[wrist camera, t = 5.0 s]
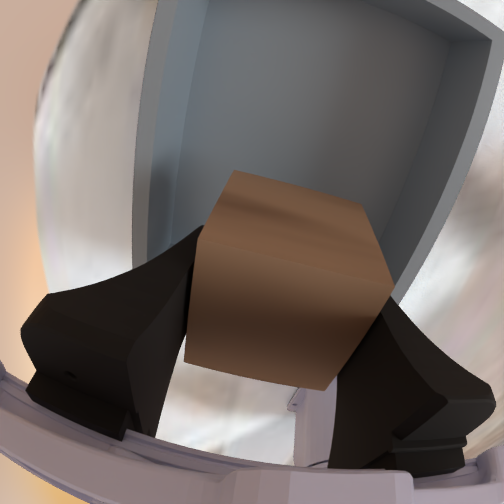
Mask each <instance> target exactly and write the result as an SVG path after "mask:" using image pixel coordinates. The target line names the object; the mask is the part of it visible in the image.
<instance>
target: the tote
mask: <svg viewBox="0 0 504 504" xmlns="http://www.w3.org/2000/svg"><path fill="white" fill-rule="evenodd" d="M503 61H504V31H502V30H501V29H500V28H498V27H497V26H495V25H494V24H493V23H491V22H490V21H488V20H487V19H486V18H484V17H483V16H481V15H480V14H478V13H477V12H475V11H474V10H472V9H470V8H469V7H467V6H466V5H464V4H462V3H461V2H459V1H457V0H159V1H158V5H157V9H156V13H155V18H154V23H153V27H152V32H151V37H150V43H149V48H148V54H147V59H146V65H145V72H144V78H143V85H142V92H141V100H140V108H139V117H138V127H137V137H136V149H135V163H134V181H133V207H132V267H133V269H134V268H137V267H139V266H141V265H143V264H145V263H146V262H148V261H150V260H152V259H153V258H155V257H157V256H158V255H160V254H161V253H163V252H165V251H166V250H168V249H169V248H171V247H172V246H173V245H175V244H176V243H178V242H179V241H181V240H182V239H183V238H185V237H186V236H187V235H189V234H190V233H191V232H193V231H194V230H195V229H196V228H198V227H199V226H201V225H205V223H206V221H207V220H208V218H209V216H210V214H211V212H212V210H213V208H214V206H215V204H216V202H217V200H218V198H219V197H220V195H221V193H222V191H223V189H224V187H225V185H226V183H227V182H228V180H229V178H230V176H231V174H232V172H233V171H234V170H237V171H242V172H246V173H250V174H254V175H258V176H262V177H266V178H270V179H274V180H278V181H282V182H286V183H290V184H294V185H297V186H301V187H305V188H308V189H312V190H316V191H319V192H323V193H326V194H330V195H333V196H336V197H340V198H343V199H347V200H350V201H353V202H356V203H360V204H362V206H363V209H364V211H365V213H366V215H367V218H368V220H369V222H370V225H371V227H372V229H373V232H374V234H375V237H376V239H377V241H378V244H379V246H380V249H381V251H382V254H383V256H384V259H385V261H386V264H387V267H388V269H389V272H390V275H391V277H392V280H393V283H394V285H395V288H394V290H393V291H392V293H391V297H392V298H393V299H394V301H395V302H396V303H397V304H398V305H399V303H400V302H401V300H402V299H403V297H404V295H405V294H406V292H407V290H408V289H409V287H410V285H411V284H412V282H413V280H414V279H415V277H416V275H417V274H418V272H419V270H420V268H421V267H422V265H423V263H424V261H425V260H426V258H427V256H428V254H429V252H430V250H431V249H432V247H433V245H434V243H435V241H436V239H437V237H438V235H439V233H440V231H441V230H442V228H443V226H444V224H445V222H446V219H447V217H448V215H449V213H450V211H451V209H452V207H453V205H454V203H455V201H456V198H457V196H458V194H459V192H460V189H461V187H462V185H463V183H464V180H465V178H466V176H467V173H468V171H469V168H470V166H471V163H472V161H473V158H474V156H475V153H476V150H477V148H478V145H479V142H480V140H481V137H482V134H483V131H484V128H485V125H486V122H487V119H488V116H489V113H490V110H491V106H492V103H493V100H494V96H495V93H496V89H497V85H498V82H499V78H500V74H501V70H502V65H503Z"/></svg>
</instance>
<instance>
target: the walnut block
mask: <svg viewBox="0 0 504 504" xmlns="http://www.w3.org/2000/svg"><path fill="white" fill-rule="evenodd" d="M394 288H395V285H394V283H393V280H392V277H391V275H390V272H389V269H388V267H387V264H386V261H385V259H384V256H383V254H382V251H381V249H380V246H379V244H378V241H377V239H376V237H375V234H374V232H373V229H372V227H371V225H370V222H369V220H368V218H367V215H366V213H365V211H364V209H363V206H362V204H360V203H356V202H353V201H350V200H347V199H343V198H340V197H336V196H333V195H330V194H326V193H323V192H319V191H316V190H312V189H308V188H305V187H301V186H297V185H294V184H290V183H286V182H282V181H278V180H274V179H270V178H266V177H262V176H258V175H254V174H250V173H246V172H242V171H237V170H234V171H233V172H232V174H231V176H230V178H229V180H228V182H227V183H226V185H225V187H224V189H223V191H222V193H221V195H220V197H219V198H218V200H217V202H216V204H215V206H214V208H213V210H212V212H211V214H210V216H209V218H208V220H207V221H206V223H205V225H204V227H203V229H202V231H201V233H200V235H199V237H198V241H197V248H196V256H195V263H194V271H193V279H192V287H191V296H190V305H189V314H188V323H187V333H186V343H185V354H184V362H186V363H189V364H193V365H197V366H201V367H204V368H208V369H212V370H216V371H220V372H225V373H229V374H233V375H238V376H242V377H247V378H252V379H256V380H261V381H266V382H271V383H277V384H282V385H288V386H294V387H300V388H306V389H312V390H319V391H325V390H326V389H327V388H328V386H329V385H330V384H331V382H332V381H333V380H334V378H335V377H336V376H337V374H338V373H339V372H340V370H341V369H342V367H343V366H344V365H345V363H346V362H347V360H348V359H349V358H350V356H351V355H352V353H353V352H354V350H355V349H356V348H357V346H358V345H359V343H360V342H361V340H362V339H363V337H364V336H365V334H366V333H367V331H368V330H369V328H370V327H371V325H372V324H373V322H374V321H375V319H376V317H377V316H378V314H379V313H380V311H381V309H382V308H383V306H384V305H385V303H386V301H387V300H388V298H389V296H390V295H391V293H392V291H393V290H394Z"/></svg>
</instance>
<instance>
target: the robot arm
mask: <svg viewBox="0 0 504 504" xmlns="http://www.w3.org/2000/svg"><path fill="white" fill-rule="evenodd" d="M203 227H204V225H201V226H199V227H198V228H196V229H195V230H194V231H193V232H191V233H190V234H189V235H187V236H186V237H185V238H183V239H182V240H181V241H179V242H178V243H176V244H175V245H173V246H172V247H171V248H169V249H168V250H166V251H165V252H163V253H161V254H160V255H158V256H157V257H155V258H153V259H152V260H150V261H148V262H146V263H145V264H143V265H141V266H139V267H137V268H134V269H132V270H130V271H128V272H125V273H123V274H120V275H118V276H115V277H113V278H110V279H107V280H105V281H101V282H98V283H95V284H92V285H88V286H84V287H81V288H76V289H72V290H67V291H61V292H56V293H50V294H47V295H46V296H45V297H44V298H43V299H42V301H41V302H40V303H39V304H38V306H37V307H36V308H35V309H34V311H33V312H32V313H31V315H30V316H29V317H28V319H27V320H26V321H25V323H24V324H23V326H22V328H21V339H22V342H23V345H24V347H25V349H26V351H27V353H28V355H29V357H30V359H31V361H32V363H33V365H34V367H35V368H36V370H37V371H36V372H35V374H34V376H33V377H32V379H31V381H30V383H29V384H27V383H25V382H23V381H22V380H20V379H18V378H17V377H15V376H13V375H11V374H10V373H8V372H6V369H5V367H4V365H3V364H2V362H1V361H0V453H2V454H3V455H5V456H6V457H8V458H9V459H10V460H12V461H13V462H15V463H16V464H18V465H20V466H21V467H23V468H24V469H26V470H27V471H29V472H31V473H32V474H34V475H36V476H38V477H39V478H41V479H43V480H44V481H46V482H48V483H50V484H52V485H53V486H55V487H57V488H59V489H61V490H63V491H65V492H67V493H69V494H71V495H73V496H75V497H77V498H79V499H81V500H83V501H85V502H88V503H90V504H504V445H501V446H496V447H493V448H490V449H488V450H486V451H485V452H483V453H481V454H480V455H479V456H477V458H473V459H467V460H464V455H463V449H462V447H465V446H466V445H467V440H466V435H468V434H469V433H470V432H472V431H473V430H474V429H476V428H477V427H478V426H480V425H481V424H482V423H483V422H485V421H486V420H487V419H488V418H489V417H490V416H491V415H492V413H493V412H494V410H495V407H496V401H495V398H494V395H493V392H492V389H491V387H490V385H489V384H487V383H486V382H484V381H483V380H481V379H479V378H478V377H476V376H475V375H473V374H471V373H470V372H468V371H467V370H466V369H464V368H463V367H462V366H460V365H459V364H457V363H456V362H455V361H454V360H452V359H451V358H450V357H449V356H447V355H446V354H445V353H444V352H443V351H442V350H440V349H439V348H438V347H437V346H436V345H435V344H434V343H433V342H432V341H430V340H429V339H428V338H427V337H426V336H425V335H424V334H423V333H422V332H421V331H420V329H419V328H418V327H417V326H416V325H415V324H414V323H413V322H412V321H411V320H410V319H409V317H408V316H407V315H406V314H405V313H404V312H403V310H402V309H401V308H400V307H399V306H398V304H397V303H396V302H395V301H394V299H393V298H392V297H391V295H390V296H389V298H388V300H387V301H386V303H385V305H384V306H383V308H382V309H381V311H380V313H379V314H378V316H377V317H376V319H375V321H374V322H373V324H372V325H371V327H370V328H369V330H368V331H367V333H366V334H365V336H364V337H363V339H362V340H361V342H360V343H359V345H358V346H357V348H356V349H355V350H354V352H353V353H352V355H351V356H350V358H349V359H348V360H347V362H346V363H345V365H344V366H343V367H342V369H341V370H340V372H339V373H338V374H337V376H336V377H335V378H334V380H333V381H332V382H331V384H330V385H329V386H328V388H327V389H326V390H325V391H319V390H312V389H306V388H300V387H299V389H298V390H297V392H296V393H295V395H294V396H293V398H292V399H291V401H290V402H289V404H288V405H287V409H288V410H289V411H295V412H296V419H295V438H294V455H293V458H294V464H295V466H289V465H280V464H272V463H264V462H257V461H251V460H245V459H239V458H234V457H228V456H223V455H219V454H214V453H209V452H205V451H201V450H196V449H192V448H188V447H185V446H181V445H177V444H174V443H170V442H166V441H163V440H160V439H156V438H155V436H156V432H157V428H158V424H159V420H160V416H161V412H162V408H163V405H164V401H165V397H166V393H167V390H168V386H169V383H170V380H171V376H172V373H173V369H174V366H175V363H176V360H177V356H178V353H179V350H180V347H181V345H182V342H183V340H184V337H185V335H186V333H187V323H188V314H189V305H190V296H191V287H192V279H193V271H194V263H195V256H196V248H197V241H198V237H199V235H200V233H201V231H202V229H203Z"/></svg>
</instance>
